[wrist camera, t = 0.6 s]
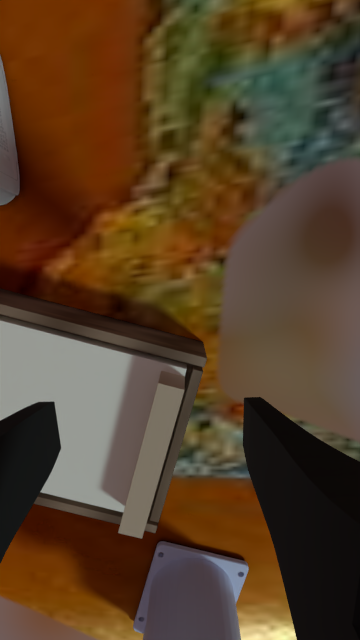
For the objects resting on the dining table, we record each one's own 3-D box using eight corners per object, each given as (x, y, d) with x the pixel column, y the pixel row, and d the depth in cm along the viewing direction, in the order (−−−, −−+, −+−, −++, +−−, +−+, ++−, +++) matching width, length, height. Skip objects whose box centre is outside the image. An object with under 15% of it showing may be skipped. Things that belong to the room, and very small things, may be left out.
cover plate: (186, 363, 19) (186, 381, 16) (146, 505, 21) (140, 545, 18) (-41, 304, 18) (-85, 311, 15) (-61, 454, 20) (-103, 486, 17)
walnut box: (202, 342, 22) (206, 358, 18) (160, 489, 24) (155, 533, 20) (-21, 282, 21) (-69, 286, 17) (-43, 439, 23) (-90, 473, 19)
